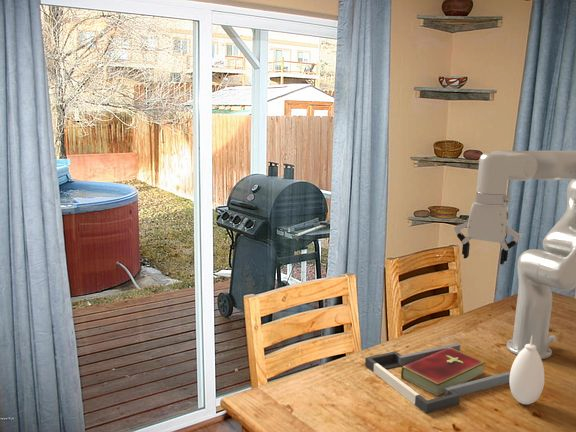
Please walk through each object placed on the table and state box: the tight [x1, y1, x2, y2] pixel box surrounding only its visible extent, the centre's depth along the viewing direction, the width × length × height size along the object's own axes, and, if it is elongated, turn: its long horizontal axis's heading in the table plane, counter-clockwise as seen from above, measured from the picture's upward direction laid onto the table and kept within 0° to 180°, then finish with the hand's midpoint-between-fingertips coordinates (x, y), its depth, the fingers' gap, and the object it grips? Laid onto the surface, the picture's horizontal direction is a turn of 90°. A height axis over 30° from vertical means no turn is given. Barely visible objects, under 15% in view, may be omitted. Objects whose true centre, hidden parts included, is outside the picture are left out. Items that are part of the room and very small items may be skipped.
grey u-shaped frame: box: [364, 343, 510, 414], centre depth 146 cm, size 31×26×2 cm
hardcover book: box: [400, 347, 486, 396], centre depth 146 cm, size 12×21×4 cm, turn 128°
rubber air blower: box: [508, 336, 545, 405], centre depth 132 cm, size 8×8×18 cm
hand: (483, 260), depth 147 cm, fingers open, 9 cm apart
